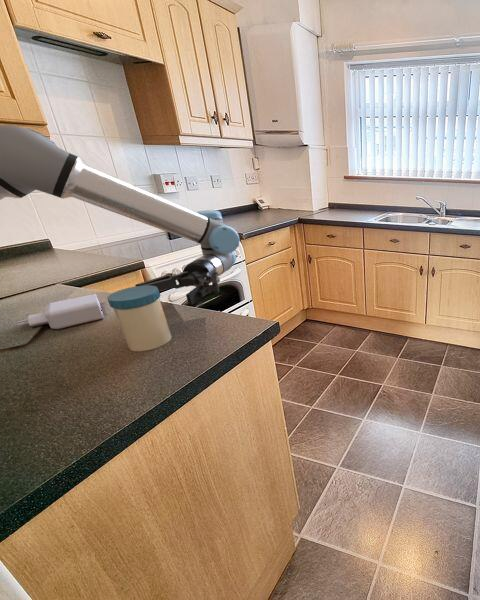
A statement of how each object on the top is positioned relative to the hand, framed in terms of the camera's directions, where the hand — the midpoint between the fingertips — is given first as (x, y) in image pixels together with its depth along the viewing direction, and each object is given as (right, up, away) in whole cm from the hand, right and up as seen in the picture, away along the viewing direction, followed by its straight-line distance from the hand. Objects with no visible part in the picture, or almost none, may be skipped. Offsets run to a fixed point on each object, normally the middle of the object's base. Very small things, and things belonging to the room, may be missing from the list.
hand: (159, 300), depth 79 cm
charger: (-28, -6, +6) cm, 29 cm away
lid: (0, +1, -8) cm, 8 cm away
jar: (0, -9, -3) cm, 10 cm away
